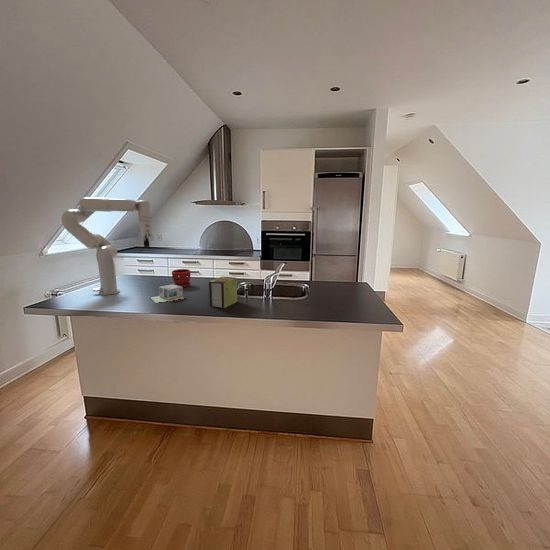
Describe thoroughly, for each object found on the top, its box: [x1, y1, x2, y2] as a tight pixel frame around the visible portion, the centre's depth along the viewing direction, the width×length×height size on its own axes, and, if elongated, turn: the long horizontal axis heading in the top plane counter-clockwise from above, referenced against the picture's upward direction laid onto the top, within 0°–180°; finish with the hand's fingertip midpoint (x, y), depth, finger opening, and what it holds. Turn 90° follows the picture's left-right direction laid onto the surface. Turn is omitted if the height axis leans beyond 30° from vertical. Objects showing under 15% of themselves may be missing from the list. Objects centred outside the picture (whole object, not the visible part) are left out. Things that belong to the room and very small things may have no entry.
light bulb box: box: [158, 283, 184, 299], centre depth 190 cm, size 11×7×11 cm
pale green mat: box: [150, 295, 185, 304], centre depth 188 cm, size 18×14×1 cm
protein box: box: [208, 275, 238, 309], centre depth 177 cm, size 10×15×16 cm
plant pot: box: [171, 268, 191, 288], centre depth 219 cm, size 13×13×12 cm
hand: (146, 246), depth 199 cm, fingers closed
